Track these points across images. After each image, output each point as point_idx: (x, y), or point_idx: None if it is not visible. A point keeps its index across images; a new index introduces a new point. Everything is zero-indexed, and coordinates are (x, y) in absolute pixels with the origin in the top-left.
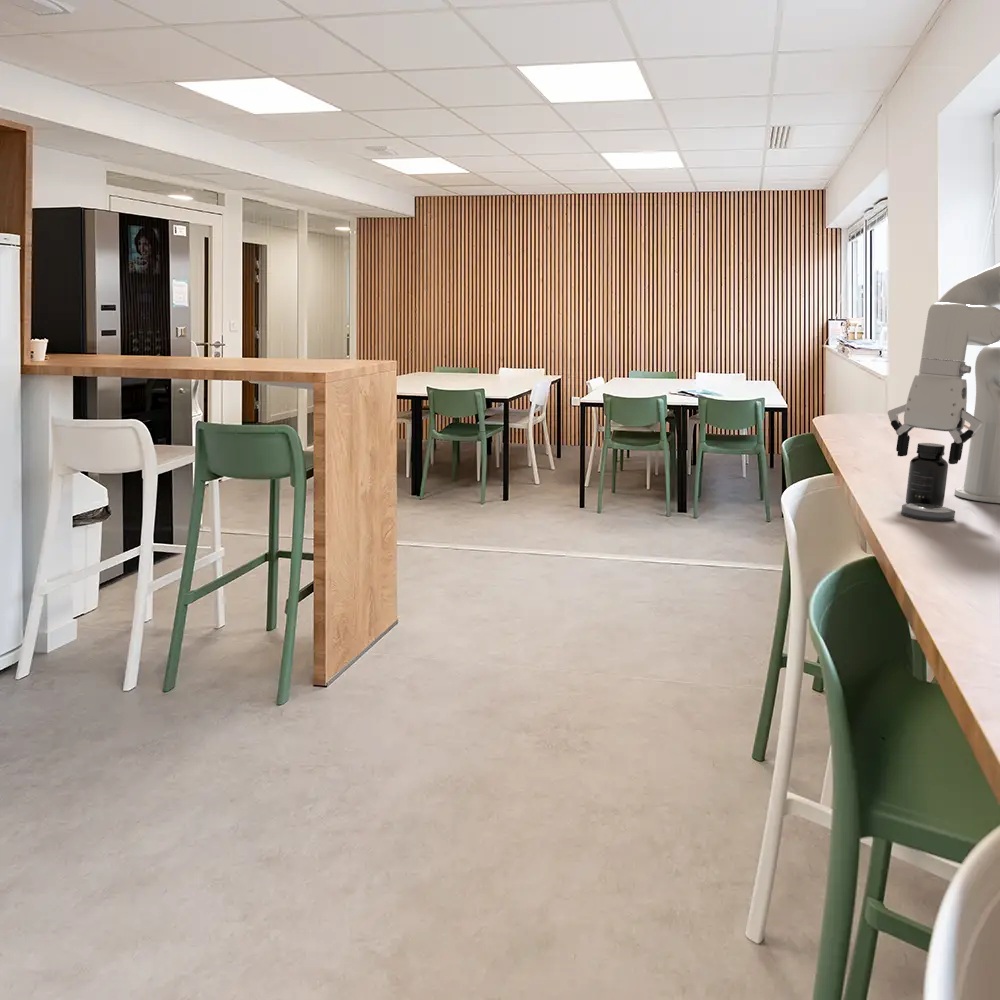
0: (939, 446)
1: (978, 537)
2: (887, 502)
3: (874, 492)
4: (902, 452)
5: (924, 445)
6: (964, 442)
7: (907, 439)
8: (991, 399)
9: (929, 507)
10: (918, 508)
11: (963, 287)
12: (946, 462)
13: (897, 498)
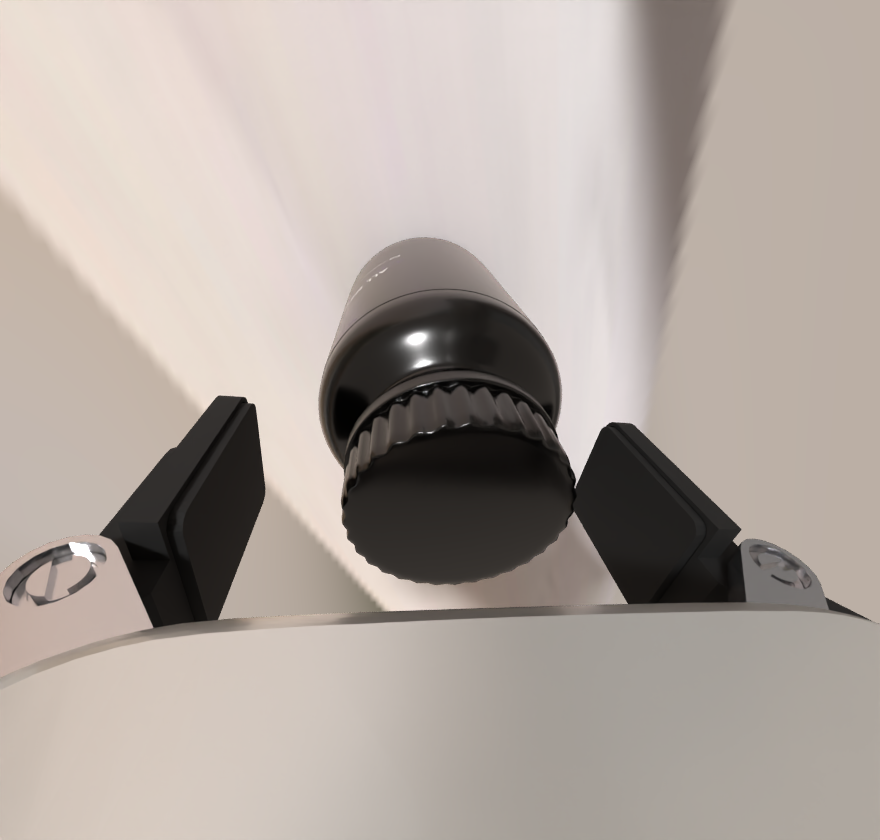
0: (536, 553)
1: (593, 580)
2: (293, 362)
3: (68, 96)
4: (256, 499)
5: (425, 581)
6: (765, 554)
7: (208, 538)
8: None
9: None
10: None
11: None
12: (556, 422)
13: (266, 211)
